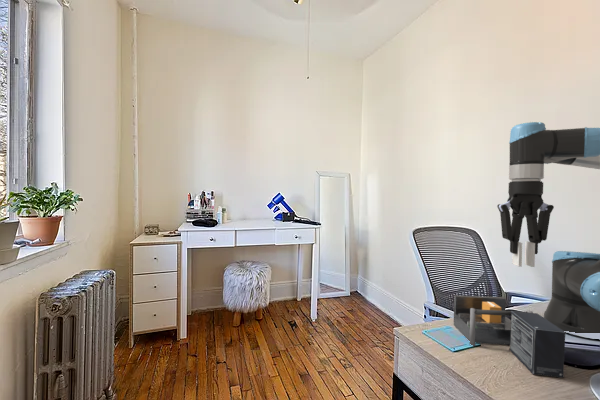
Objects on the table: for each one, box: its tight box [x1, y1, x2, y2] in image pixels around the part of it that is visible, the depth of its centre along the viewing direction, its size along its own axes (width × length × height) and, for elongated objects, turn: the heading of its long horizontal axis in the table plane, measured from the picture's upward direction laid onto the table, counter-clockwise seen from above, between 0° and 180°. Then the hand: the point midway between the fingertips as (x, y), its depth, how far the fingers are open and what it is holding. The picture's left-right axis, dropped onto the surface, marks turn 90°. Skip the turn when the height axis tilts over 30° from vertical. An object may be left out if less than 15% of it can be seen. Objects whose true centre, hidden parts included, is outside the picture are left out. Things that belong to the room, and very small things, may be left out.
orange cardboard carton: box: [482, 302, 501, 323], centre depth 81 cm, size 3×4×5 cm
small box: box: [509, 310, 566, 379], centre depth 68 cm, size 11×6×10 cm, turn 168°
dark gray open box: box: [453, 294, 511, 346], centre depth 82 cm, size 14×10×9 cm
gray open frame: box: [469, 308, 534, 347], centre depth 76 cm, size 15×1×10 cm, turn 84°
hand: (523, 265), depth 80 cm, fingers open, 3 cm apart
